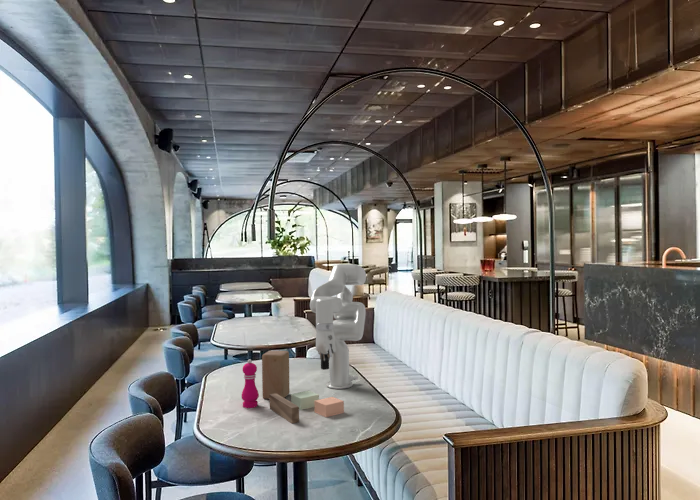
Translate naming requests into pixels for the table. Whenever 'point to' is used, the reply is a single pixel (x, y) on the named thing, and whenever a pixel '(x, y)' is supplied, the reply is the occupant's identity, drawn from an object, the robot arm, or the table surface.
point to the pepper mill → (250, 386)
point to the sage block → (304, 399)
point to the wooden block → (275, 373)
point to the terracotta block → (329, 406)
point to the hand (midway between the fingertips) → (325, 369)
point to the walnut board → (284, 408)
